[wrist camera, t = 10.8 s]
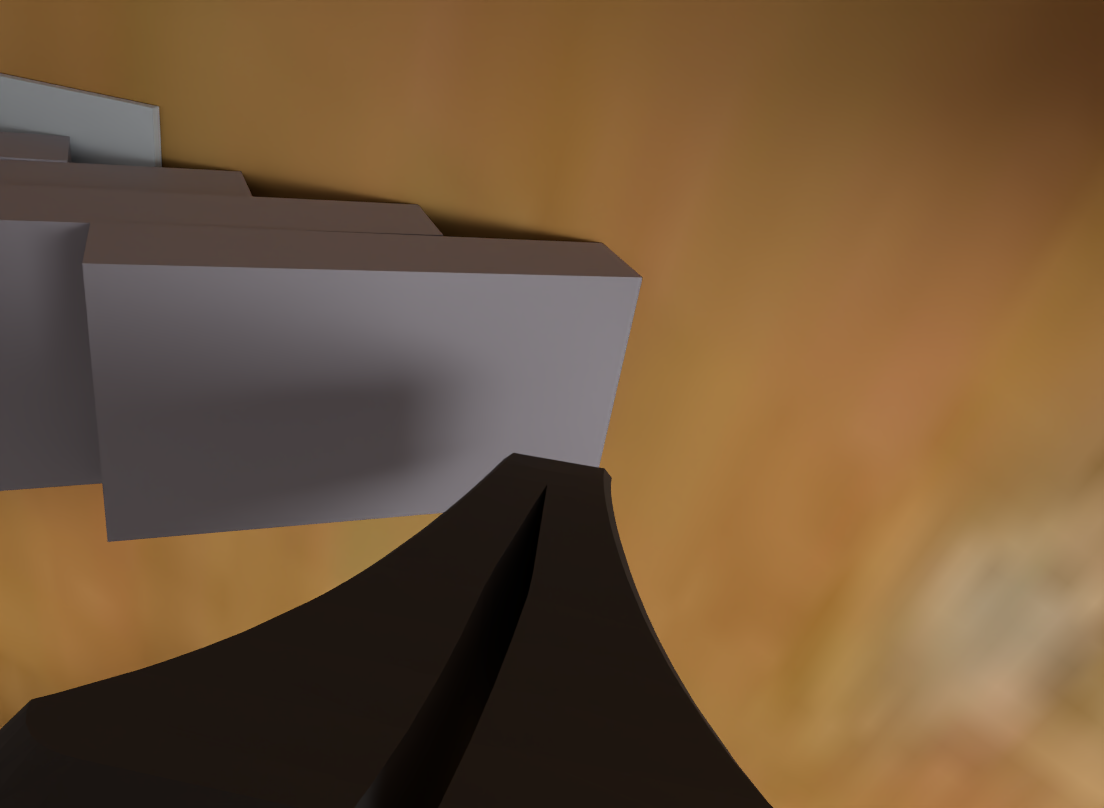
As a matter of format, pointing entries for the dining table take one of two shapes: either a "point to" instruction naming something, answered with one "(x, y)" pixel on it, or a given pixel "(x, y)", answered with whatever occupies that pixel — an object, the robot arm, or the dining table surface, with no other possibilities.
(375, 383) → the domino
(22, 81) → the coaster
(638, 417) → the dining table surface
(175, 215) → the domino
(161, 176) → the domino
